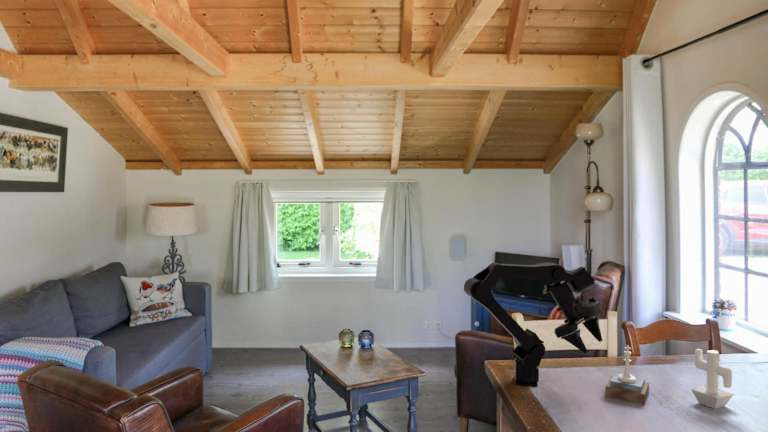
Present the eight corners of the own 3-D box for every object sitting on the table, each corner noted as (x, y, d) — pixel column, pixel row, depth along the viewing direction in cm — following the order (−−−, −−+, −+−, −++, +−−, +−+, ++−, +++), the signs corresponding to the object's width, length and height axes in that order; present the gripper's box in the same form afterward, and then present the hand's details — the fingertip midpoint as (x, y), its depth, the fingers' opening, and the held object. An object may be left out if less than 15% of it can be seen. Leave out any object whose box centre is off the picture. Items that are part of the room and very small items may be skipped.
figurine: (721, 413, 129) (723, 357, 129) (686, 400, 138) (688, 347, 137) (737, 408, 132) (739, 354, 132) (702, 396, 141) (704, 344, 140)
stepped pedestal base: (605, 396, 140) (605, 381, 140) (611, 385, 148) (611, 371, 148) (644, 404, 134) (644, 388, 134) (648, 393, 143) (649, 378, 142)
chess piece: (638, 383, 138) (639, 348, 138) (620, 381, 139) (620, 347, 139) (633, 377, 143) (634, 343, 143) (615, 375, 144) (616, 342, 144)
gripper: (570, 301, 139) (600, 351, 135) (601, 282, 151) (630, 328, 147) (542, 313, 148) (569, 361, 144) (573, 294, 159) (600, 338, 155)
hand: (593, 346), depth 147 cm, fingers open, 9 cm apart
